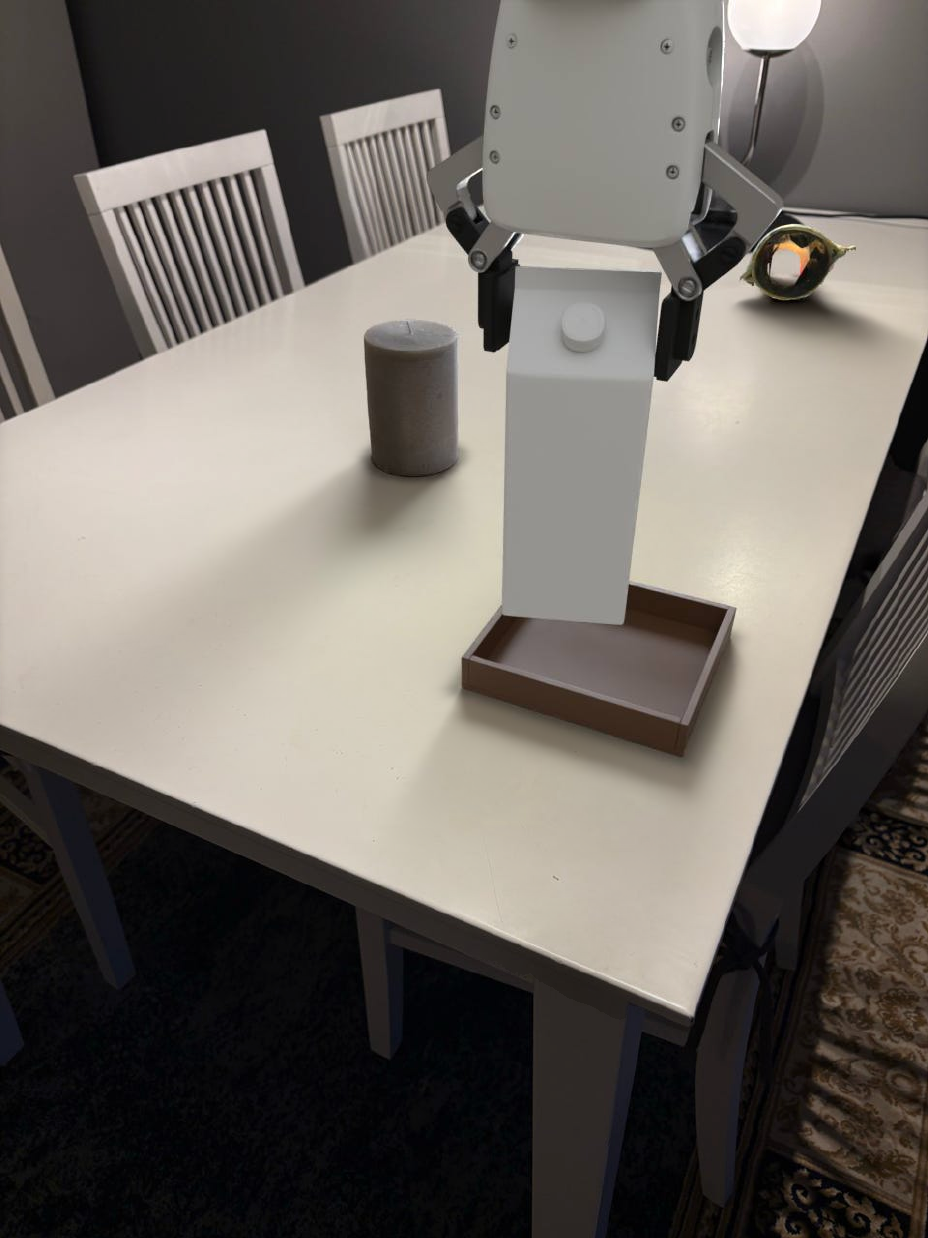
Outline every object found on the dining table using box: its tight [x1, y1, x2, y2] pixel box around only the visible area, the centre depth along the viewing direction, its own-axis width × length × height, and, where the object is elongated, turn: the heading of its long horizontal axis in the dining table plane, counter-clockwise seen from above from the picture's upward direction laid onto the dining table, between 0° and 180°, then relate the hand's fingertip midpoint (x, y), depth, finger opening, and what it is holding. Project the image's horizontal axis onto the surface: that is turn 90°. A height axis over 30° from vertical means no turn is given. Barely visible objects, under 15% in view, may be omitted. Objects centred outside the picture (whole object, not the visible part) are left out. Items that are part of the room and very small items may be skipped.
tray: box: [461, 579, 738, 758], centre depth 71 cm, size 17×15×3 cm
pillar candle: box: [363, 318, 460, 477], centre depth 96 cm, size 10×10×15 cm
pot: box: [738, 223, 858, 301], centre depth 145 cm, size 17×11×18 cm
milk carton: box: [501, 265, 663, 625], centre depth 50 cm, size 7×7×19 cm
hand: (581, 356), depth 47 cm, fingers closed on milk carton, 8 cm apart
